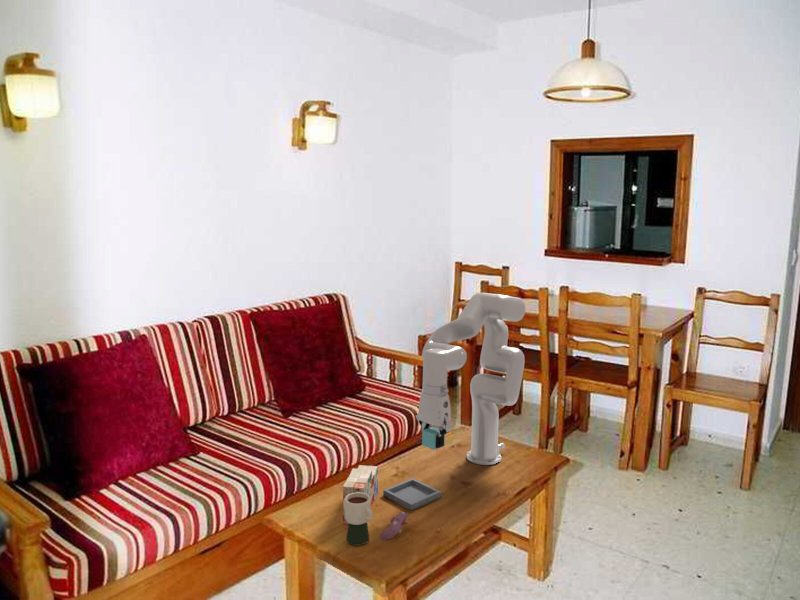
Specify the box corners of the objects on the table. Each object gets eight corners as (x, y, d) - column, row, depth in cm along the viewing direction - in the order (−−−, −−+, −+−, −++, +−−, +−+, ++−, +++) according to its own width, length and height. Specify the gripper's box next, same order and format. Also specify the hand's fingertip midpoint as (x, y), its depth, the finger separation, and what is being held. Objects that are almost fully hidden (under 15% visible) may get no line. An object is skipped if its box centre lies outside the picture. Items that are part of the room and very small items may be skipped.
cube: (432, 441, 209) (433, 426, 208) (444, 445, 205) (444, 430, 204) (421, 445, 205) (422, 430, 204) (433, 449, 202) (434, 434, 201)
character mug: (380, 543, 181) (381, 499, 179) (362, 554, 176) (362, 509, 173) (353, 529, 188) (352, 487, 186) (334, 539, 183) (334, 496, 180)
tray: (412, 483, 217) (412, 477, 217) (441, 497, 208) (441, 491, 207) (383, 495, 208) (383, 489, 208) (411, 510, 199) (411, 504, 199)
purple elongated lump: (391, 547, 182) (402, 528, 180) (377, 537, 183) (388, 519, 181) (403, 530, 191) (413, 512, 189) (390, 521, 192) (400, 503, 190)
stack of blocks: (359, 491, 211) (359, 455, 209) (378, 493, 210) (378, 457, 208) (342, 525, 191) (342, 485, 189) (363, 527, 190) (363, 487, 188)
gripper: (463, 392, 199) (461, 449, 202) (423, 380, 211) (421, 434, 214) (447, 397, 193) (445, 455, 196) (406, 385, 205) (405, 439, 208)
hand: (433, 443), depth 205 cm, fingers closed on cube, 4 cm apart
